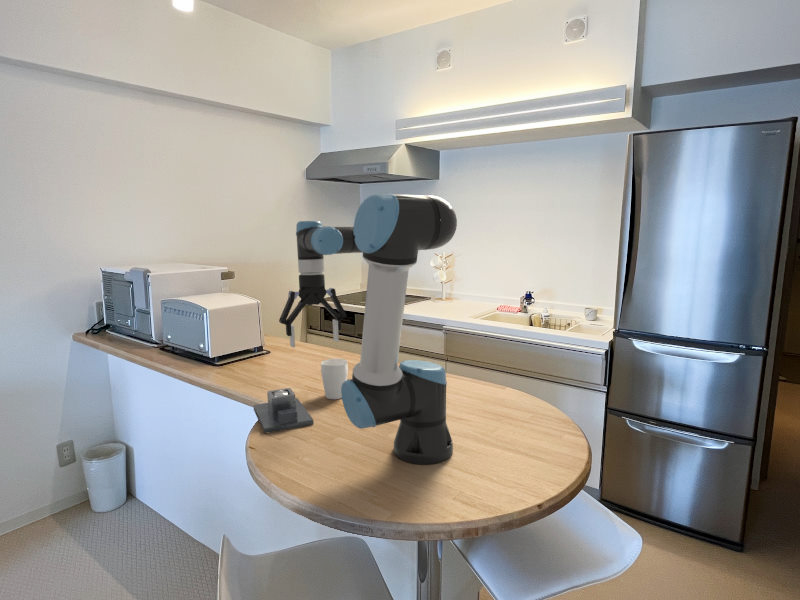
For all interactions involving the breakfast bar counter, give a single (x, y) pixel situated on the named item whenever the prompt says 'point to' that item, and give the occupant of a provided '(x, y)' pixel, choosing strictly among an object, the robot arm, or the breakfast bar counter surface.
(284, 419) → the shaft base
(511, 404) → the breakfast bar counter surface
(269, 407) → the grey hollow block
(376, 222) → the robot arm
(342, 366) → the cup
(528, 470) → the breakfast bar counter surface
